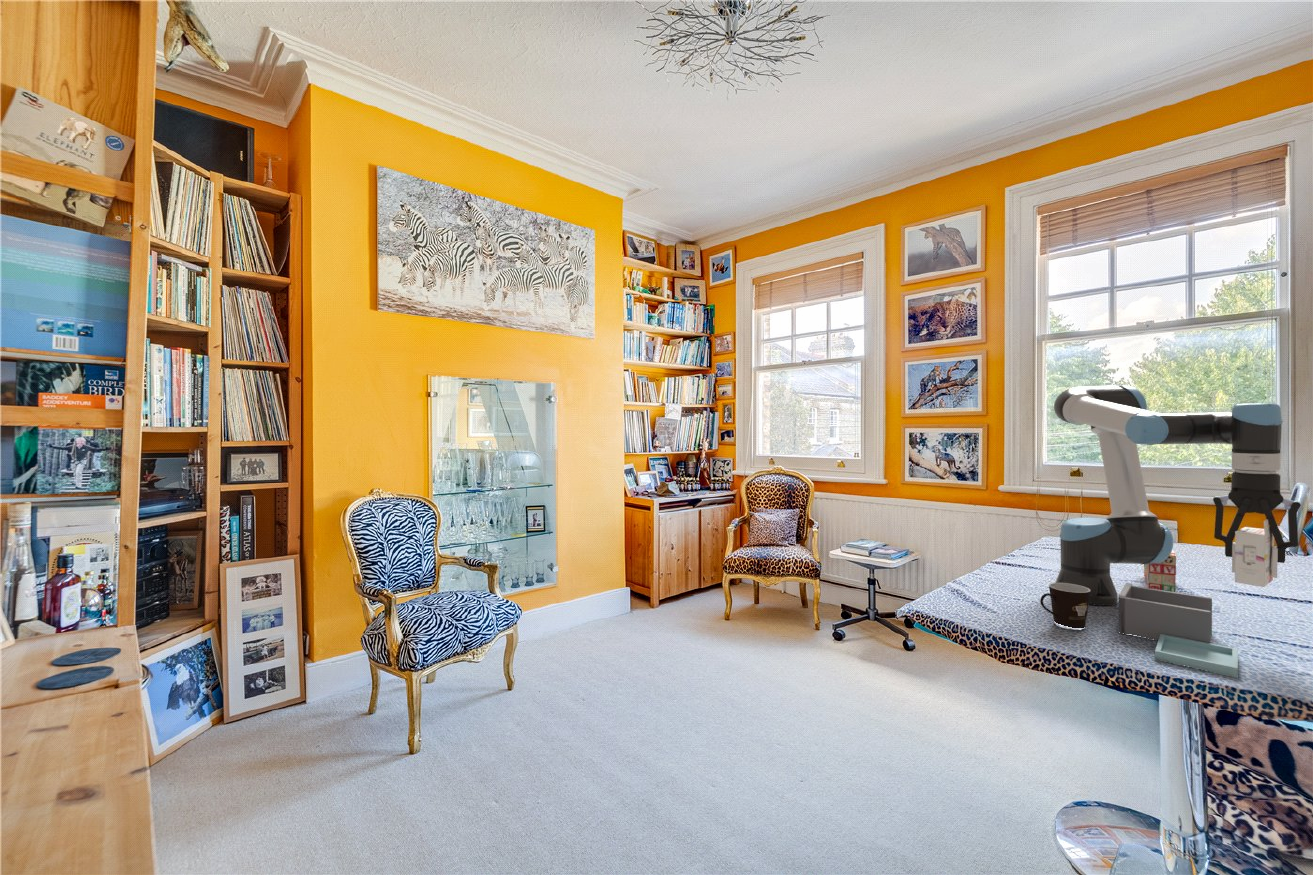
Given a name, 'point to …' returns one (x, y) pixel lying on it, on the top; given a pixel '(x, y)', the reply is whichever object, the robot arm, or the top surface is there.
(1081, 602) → the coffee mug
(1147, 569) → the stack of blocks
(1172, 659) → the tray
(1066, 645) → the top surface
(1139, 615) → the bay
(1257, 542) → the ink cartridge box
